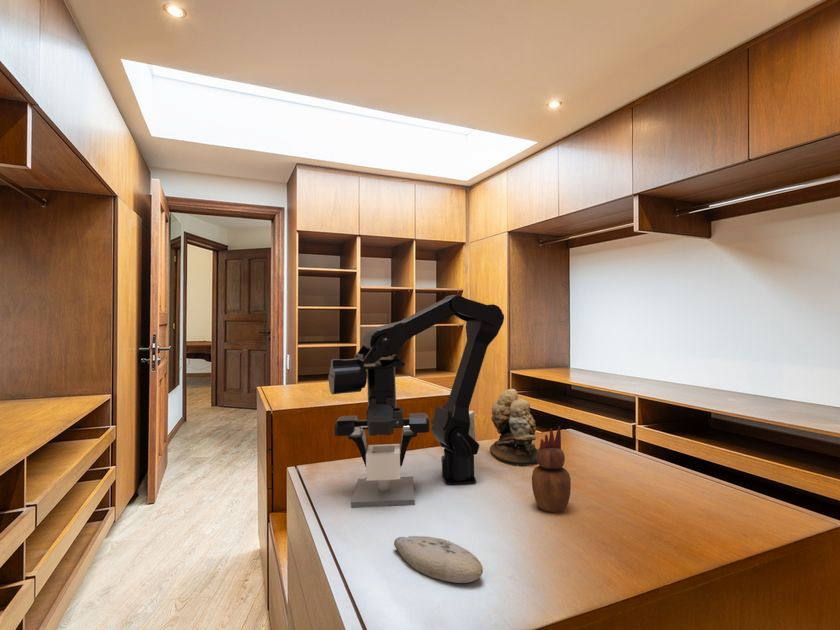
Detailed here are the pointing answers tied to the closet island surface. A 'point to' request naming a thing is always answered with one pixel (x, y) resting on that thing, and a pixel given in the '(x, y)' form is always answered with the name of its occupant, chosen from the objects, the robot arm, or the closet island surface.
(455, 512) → the closet island surface
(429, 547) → the decorative stone
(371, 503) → the post stand
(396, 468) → the collar
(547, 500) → the wooden figurine
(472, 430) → the skincare box
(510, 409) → the owl figurine
